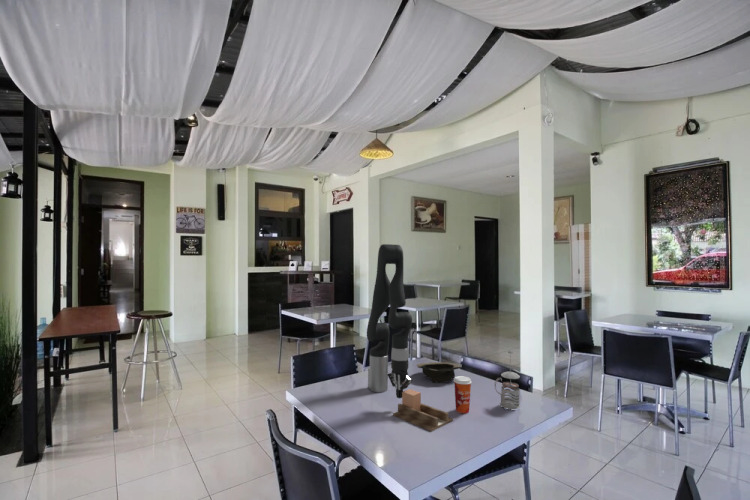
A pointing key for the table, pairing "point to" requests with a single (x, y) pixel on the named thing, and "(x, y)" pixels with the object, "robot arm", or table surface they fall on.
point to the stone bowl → (439, 371)
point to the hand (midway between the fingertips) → (399, 397)
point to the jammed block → (412, 399)
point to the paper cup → (462, 393)
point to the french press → (514, 400)
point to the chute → (423, 416)
